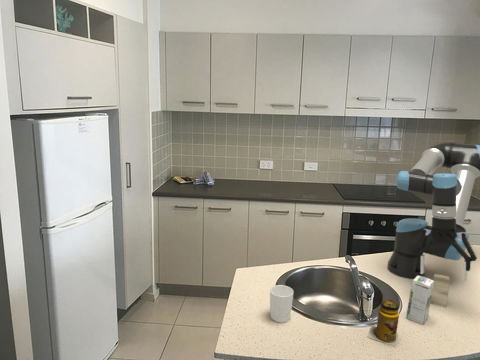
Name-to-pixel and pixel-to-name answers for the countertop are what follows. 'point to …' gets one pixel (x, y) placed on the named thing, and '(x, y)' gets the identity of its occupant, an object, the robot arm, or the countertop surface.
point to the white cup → (280, 303)
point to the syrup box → (420, 299)
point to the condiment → (386, 323)
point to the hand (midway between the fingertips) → (442, 276)
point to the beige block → (440, 290)
